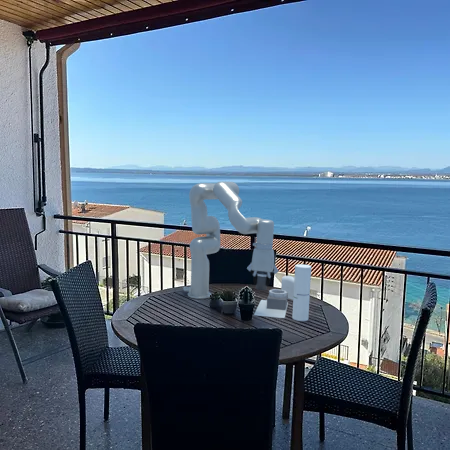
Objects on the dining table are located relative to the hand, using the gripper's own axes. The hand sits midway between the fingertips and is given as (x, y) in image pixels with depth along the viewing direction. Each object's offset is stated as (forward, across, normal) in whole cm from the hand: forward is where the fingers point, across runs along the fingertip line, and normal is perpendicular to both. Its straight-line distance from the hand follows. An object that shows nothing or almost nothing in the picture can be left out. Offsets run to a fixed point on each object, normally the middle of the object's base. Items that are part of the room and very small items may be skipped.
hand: (261, 284), depth 196 cm
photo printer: (+15, +12, +30) cm, 36 cm away
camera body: (+14, +7, +14) cm, 21 cm away
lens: (+2, 0, 0) cm, 2 cm away
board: (+14, +5, +8) cm, 17 cm away
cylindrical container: (+14, +19, -3) cm, 24 cm away
